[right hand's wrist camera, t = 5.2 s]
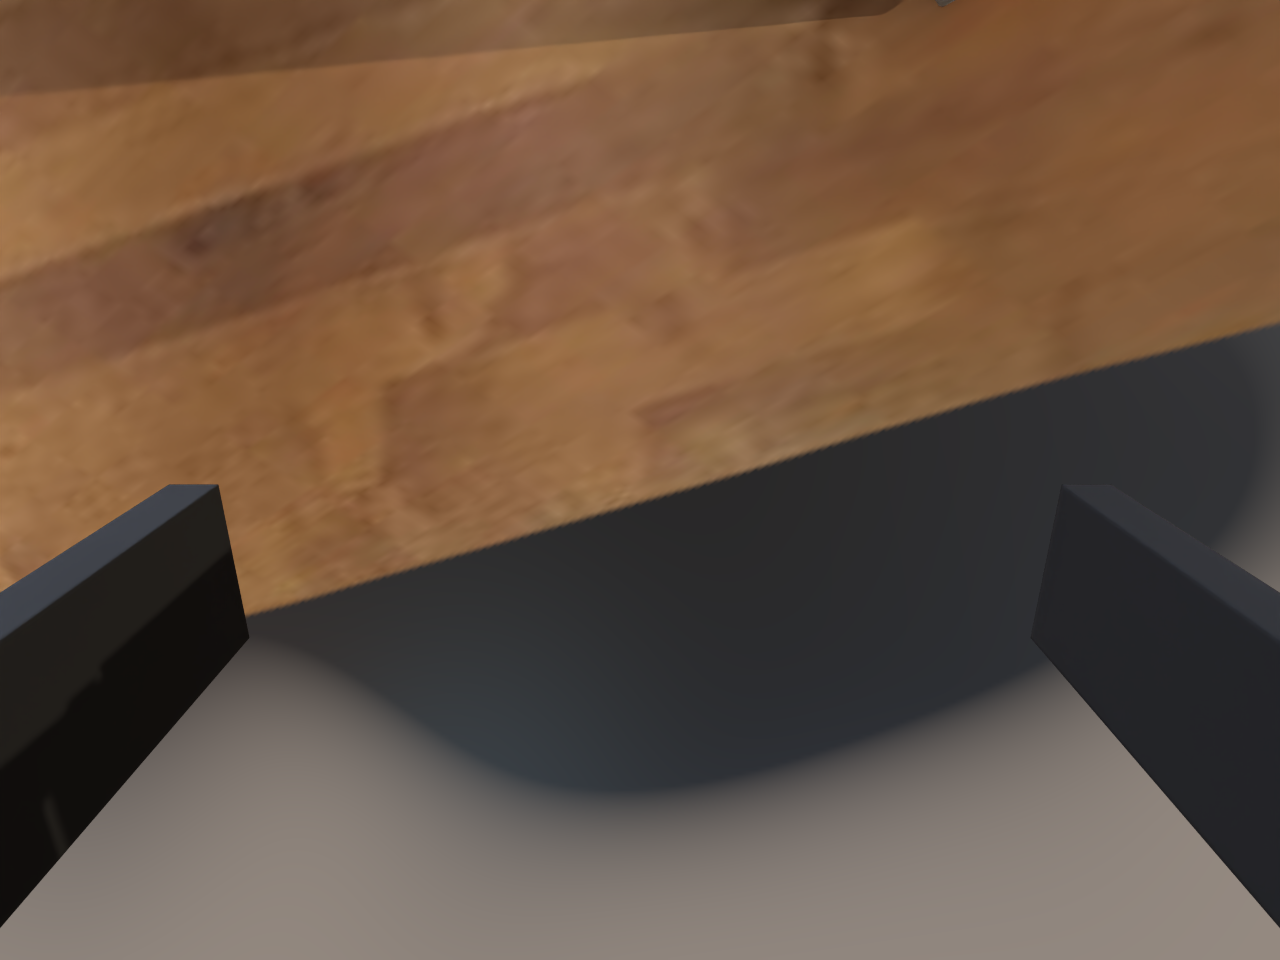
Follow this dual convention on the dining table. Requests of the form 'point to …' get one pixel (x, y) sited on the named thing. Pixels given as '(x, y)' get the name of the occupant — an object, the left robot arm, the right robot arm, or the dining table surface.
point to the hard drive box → (943, 2)
